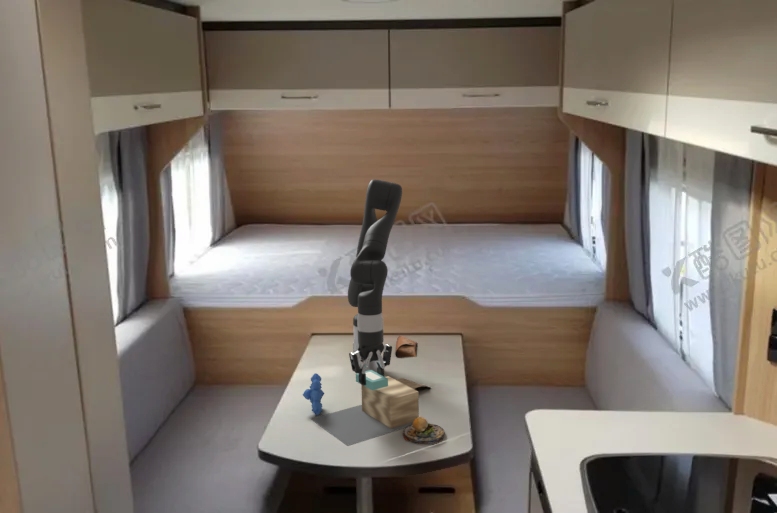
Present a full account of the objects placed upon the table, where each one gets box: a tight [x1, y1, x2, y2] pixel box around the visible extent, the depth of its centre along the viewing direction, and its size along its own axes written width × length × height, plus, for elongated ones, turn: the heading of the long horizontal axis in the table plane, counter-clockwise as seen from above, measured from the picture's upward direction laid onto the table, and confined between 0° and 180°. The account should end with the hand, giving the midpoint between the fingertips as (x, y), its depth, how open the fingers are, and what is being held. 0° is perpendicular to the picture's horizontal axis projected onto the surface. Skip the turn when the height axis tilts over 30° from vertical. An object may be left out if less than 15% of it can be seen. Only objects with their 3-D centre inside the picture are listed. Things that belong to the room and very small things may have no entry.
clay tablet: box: [394, 378, 431, 390], centre depth 231 cm, size 16×11×3 cm
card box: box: [355, 370, 388, 390], centre depth 205 cm, size 9×6×2 cm, turn 34°
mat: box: [310, 404, 413, 447], centre depth 208 cm, size 22×26×1 cm
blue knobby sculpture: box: [302, 373, 325, 416], centre depth 214 cm, size 12×7×12 cm, turn 6°
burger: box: [402, 416, 446, 446], centre depth 197 cm, size 12×12×8 cm
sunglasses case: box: [394, 335, 418, 358], centre depth 273 cm, size 18×7×7 cm
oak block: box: [360, 375, 420, 428], centre depth 210 cm, size 16×10×9 cm, turn 34°
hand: (371, 382), depth 205 cm, fingers closed on card box, 5 cm apart
